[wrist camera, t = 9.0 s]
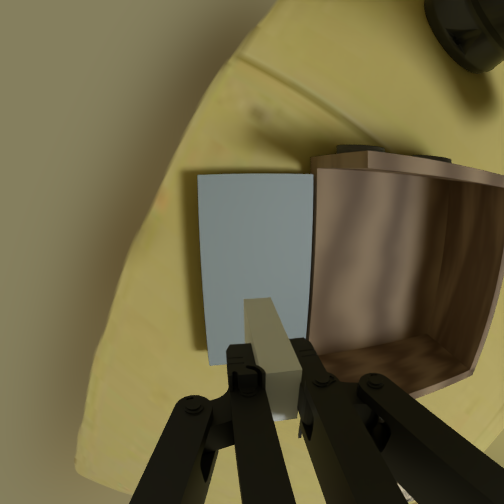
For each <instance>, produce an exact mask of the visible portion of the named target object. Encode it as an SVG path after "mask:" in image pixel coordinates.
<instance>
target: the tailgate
mask: <svg viewBox="0 0 504 504" xmlns="http://www.w3.org/2000/svg"><path fill="white" fill-rule="evenodd" d="M197 184H198V215H199V238H200V257H201V274H202V288H203V302H204V315H205V327H206V338H207V348H208V358H209V365H210V366H211V365H222V364H227V360H226V350H227V348H228V347H229V345H230V344H245V333H244V299H254V298H269V297H271V299H272V302H273V304H274V306H275V308H276V311H277V313H278V315H279V318H280V320H281V322H282V324H283V327H284V329H285V331H286V333H287V336H288V338H289V339H293V338H302V337H304V338H305V339H306V330H307V318H308V304H309V289H310V272H311V251H312V224H313V174H211V175H197Z"/></svg>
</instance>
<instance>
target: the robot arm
mask: <svg viewBox="0 0 504 504" xmlns="http://www.w3.org/2000/svg"><path fill="white" fill-rule="evenodd" d="M425 12H426V16H427V19H428V21H429V24H430V26H431V28H432V30H433V32H434V34H435V35H436V37H437V39H438V40H439V42H440V43H441V45H442V46H443V47H444V49H445V50H446V51H447V53H448V54H449V55H450V56H451V57H452V58H453V59H454V60H455V61H456V62H457V63H458V64H459V65H460V66H462V67H463V68H464V69H466V70H468V71H470V72H472V73H476V74H479V73H484V72H488V71H491V70H492V69H494V67H496V66H497V65H498V64H500V63H501V62H502V61H504V0H425ZM244 333H245V344H230V345H229V347H228V348H227V350H226V360H227V374H228V385H229V388H228V390H227V392H226V393H225V394H224V395H223V396H221V397H220V398H217V399H214V400H211V401H210V400H208V399H207V398H205V397H202V396H199V395H190V396H186V397H184V398H182V399H180V400H179V401H178V402H177V403H176V405H175V407H174V409H173V411H172V413H171V415H170V418H169V420H168V422H167V424H166V426H165V428H164V430H163V432H162V435H161V437H160V439H159V441H158V443H157V445H156V447H155V449H154V452H153V454H152V456H151V458H150V460H149V462H148V464H147V466H146V469H145V471H144V473H143V475H142V477H141V479H140V481H139V484H138V486H137V488H136V490H135V492H134V494H133V496H132V499H131V501H130V503H129V504H204V502H205V499H206V495H207V492H208V488H209V484H210V481H211V477H212V473H213V470H214V466H215V462H216V459H217V455H218V450H219V449H222V448H225V447H228V446H231V445H235V453H236V461H237V469H238V477H239V485H240V492H241V500H242V504H296V502H295V498H294V495H293V491H292V487H291V484H290V480H289V476H288V473H287V469H286V465H285V462H284V458H283V454H282V451H281V447H280V443H279V439H278V436H277V432H276V428H275V424H274V421H281V420H288V419H295V418H297V413H298V411H299V414H300V417H301V419H300V426H299V433H298V438H301V435H302V434H303V437H304V440H305V443H306V446H307V449H308V452H309V455H310V458H311V461H312V463H313V466H314V469H315V472H316V475H317V478H318V481H319V484H320V486H321V489H322V492H323V495H324V498H325V501H326V504H408V502H407V500H406V498H405V497H404V495H403V493H402V491H401V489H400V487H399V486H398V484H399V485H400V486H401V487H402V488H403V489H404V490H405V491H406V492H407V493H408V494H409V495H410V496H411V497H412V498H413V499H414V500H415V501H416V502H417V503H418V504H504V468H503V467H501V466H500V465H499V464H497V463H496V462H495V461H493V460H492V459H491V458H489V457H488V456H487V455H486V454H484V453H483V452H482V451H480V450H479V449H478V448H476V447H475V446H474V445H473V444H471V443H470V442H469V441H467V440H466V439H465V438H464V437H462V436H461V435H460V434H458V433H457V432H456V431H455V430H453V429H452V428H451V427H449V426H448V425H447V424H446V423H444V422H443V421H442V420H440V419H439V418H438V417H437V416H435V415H434V414H433V413H432V412H430V411H429V410H428V409H427V408H425V407H424V406H423V405H421V404H420V403H419V402H418V401H416V400H415V399H414V398H413V397H411V396H410V395H409V394H408V393H406V392H405V391H404V390H403V389H401V388H400V387H399V386H398V385H396V384H395V383H394V382H392V381H391V380H390V379H389V378H387V377H386V376H384V375H382V374H379V373H368V374H364V375H363V376H361V378H360V379H359V382H358V383H356V382H341V381H339V379H338V378H337V377H336V376H335V375H333V374H332V373H329V372H327V371H326V369H325V367H324V365H323V364H322V362H321V360H320V358H319V356H318V355H317V353H316V351H315V350H314V347H313V345H312V344H311V342H310V341H308V340H307V339H305V338H304V337H302V338H293V339H289V338H288V336H287V333H286V331H285V329H284V327H283V324H282V322H281V320H280V318H279V315H278V313H277V311H276V308H275V306H274V304H273V302H272V299H271V297H269V298H254V299H244ZM381 418H382V419H383V420H382V419H381ZM397 483H398V484H397Z"/></svg>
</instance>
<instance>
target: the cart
mask: <svg viewBox="0 0 504 504" xmlns="http://www.w3.org/2000/svg"><path fill="white" fill-rule="evenodd" d="M311 174H313V224H312V251H311V272H310V289H309V304H308V318H307V330H306V339H307V340H308V341H310V342H311V344H312V345H313V347H314V350H315V351H316V353H317V355H318V356H319V358H320V360H321V362H322V364H323V365H324V367H325V369H326V371H327V372H329V373H332V374H333V375H335V376H336V377H337V378H338V379H339V381H341V382H356V383H358V382H359V379H360V378H361V376H363V375H364V374H368V373H379V374H382V375H384V376H386V377H387V378H389V379H390V380H391V381H392V382H394V383H395V384H396V385H398V386H399V387H400V388H401V389H403V390H404V391H405V392H406V393H408V394H409V395H410V396H411V397H413V398H414V399H416V398H419V397H421V396H424V395H427V394H429V393H432V392H434V391H437V390H439V389H442V388H444V387H447V386H449V385H451V384H454V383H456V382H458V381H460V380H463V379H465V378H467V377H469V376H471V375H473V372H474V370H475V367H476V365H477V362H478V360H479V357H480V355H481V352H482V349H483V346H484V344H485V341H486V338H487V335H488V332H489V329H490V325H491V322H492V319H493V316H494V312H495V309H496V305H497V301H498V297H499V293H500V289H501V285H502V280H503V276H504V175H500V174H496V173H492V172H488V171H484V170H480V169H475V168H471V167H466V166H462V165H457V164H452V163H451V159H448V158H444V157H437V156H428V155H412V156H406V155H399V154H392V153H385V149H384V148H382V147H377V146H368V145H338V146H337V154H331V155H323V156H315V157H311Z"/></svg>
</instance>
